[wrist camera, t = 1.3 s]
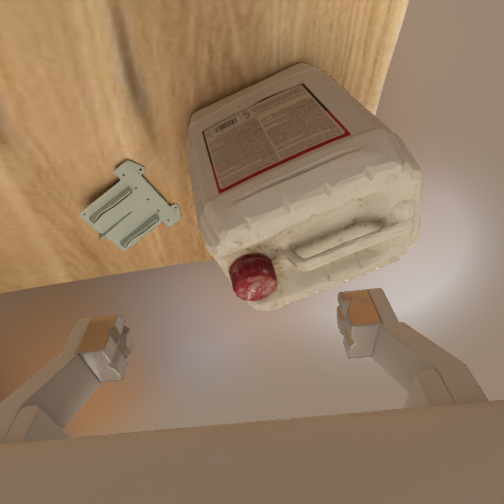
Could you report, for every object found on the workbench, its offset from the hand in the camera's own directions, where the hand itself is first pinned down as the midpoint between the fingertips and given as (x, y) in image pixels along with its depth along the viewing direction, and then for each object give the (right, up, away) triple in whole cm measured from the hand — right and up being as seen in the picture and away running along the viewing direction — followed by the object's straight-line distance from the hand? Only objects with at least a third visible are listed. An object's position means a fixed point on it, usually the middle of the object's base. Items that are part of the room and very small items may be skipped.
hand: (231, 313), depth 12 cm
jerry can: (+2, +23, +43) cm, 49 cm away
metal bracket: (-22, +11, +47) cm, 53 cm away
